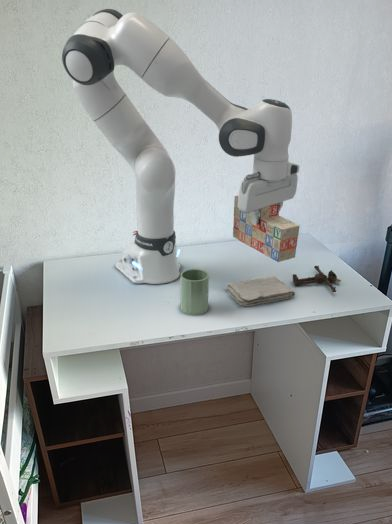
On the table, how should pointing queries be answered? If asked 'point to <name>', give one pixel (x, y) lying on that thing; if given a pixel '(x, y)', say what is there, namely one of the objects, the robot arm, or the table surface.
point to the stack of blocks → (267, 232)
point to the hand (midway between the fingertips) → (265, 220)
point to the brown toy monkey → (318, 279)
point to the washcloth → (259, 291)
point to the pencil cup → (194, 291)
